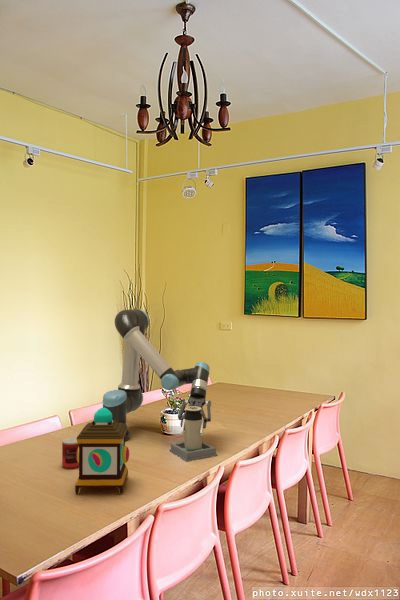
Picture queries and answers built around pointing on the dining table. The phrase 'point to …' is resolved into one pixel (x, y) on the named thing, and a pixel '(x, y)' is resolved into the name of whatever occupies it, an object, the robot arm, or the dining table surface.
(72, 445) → the canned food
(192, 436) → the travel mug
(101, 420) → the decorative lantern
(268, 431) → the dining table surface
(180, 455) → the tray
